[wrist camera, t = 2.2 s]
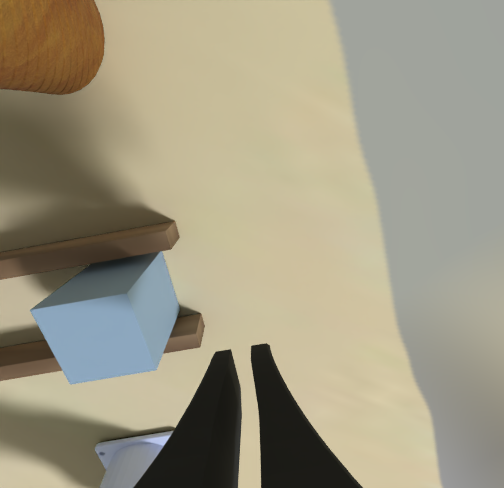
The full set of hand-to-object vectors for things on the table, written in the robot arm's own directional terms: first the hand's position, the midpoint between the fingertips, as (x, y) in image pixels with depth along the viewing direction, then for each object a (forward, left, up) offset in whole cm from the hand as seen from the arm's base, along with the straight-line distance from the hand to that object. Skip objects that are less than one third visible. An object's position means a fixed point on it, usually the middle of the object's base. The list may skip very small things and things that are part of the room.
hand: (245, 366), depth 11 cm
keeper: (0, +8, -9) cm, 12 cm away
